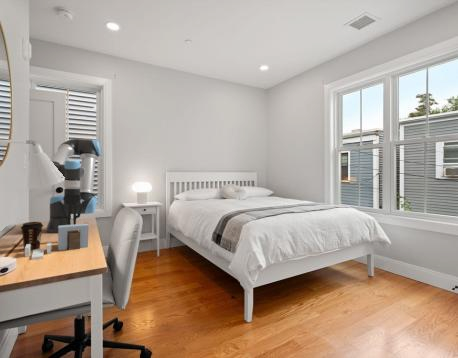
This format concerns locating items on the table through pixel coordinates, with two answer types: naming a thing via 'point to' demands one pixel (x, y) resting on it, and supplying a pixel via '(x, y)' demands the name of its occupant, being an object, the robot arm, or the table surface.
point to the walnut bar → (73, 239)
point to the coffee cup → (32, 234)
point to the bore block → (63, 229)
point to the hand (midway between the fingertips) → (71, 230)
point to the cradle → (37, 251)
